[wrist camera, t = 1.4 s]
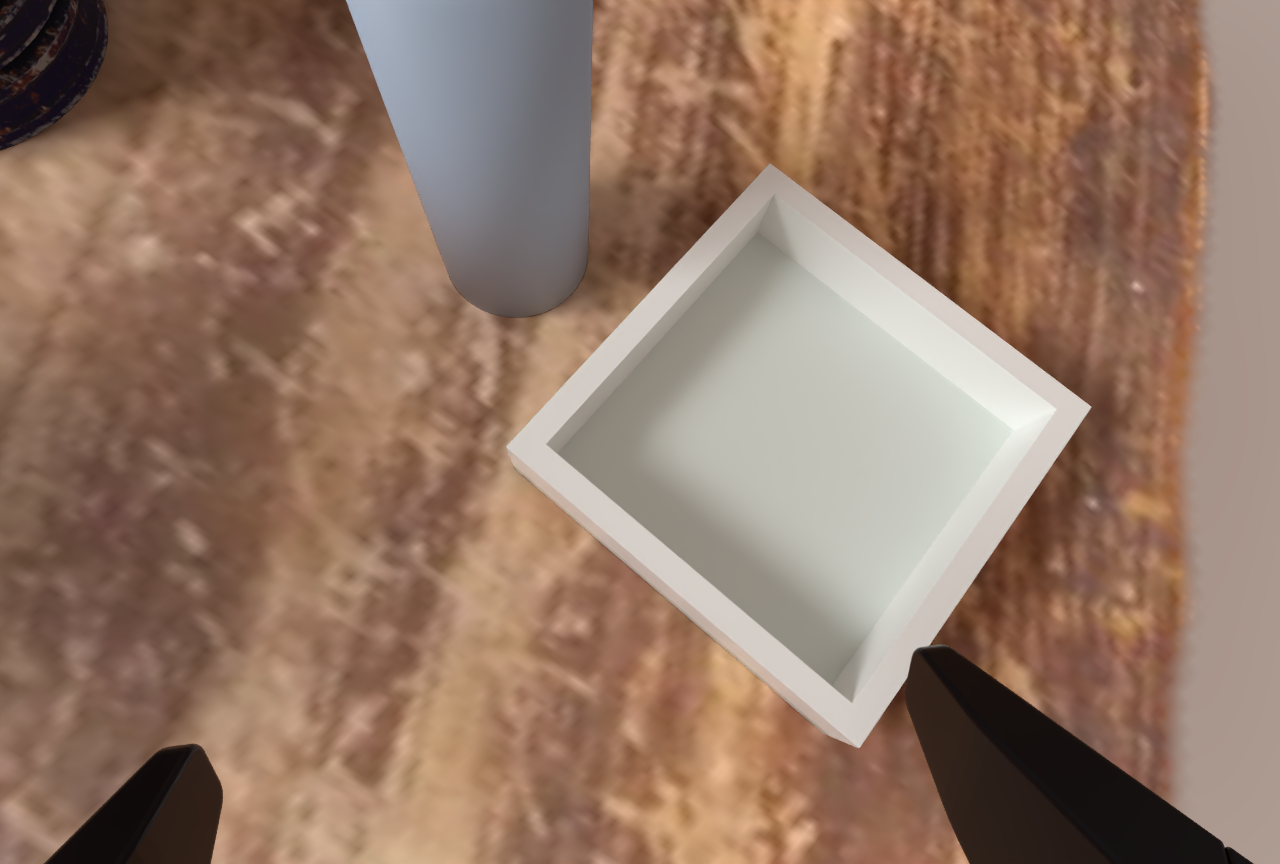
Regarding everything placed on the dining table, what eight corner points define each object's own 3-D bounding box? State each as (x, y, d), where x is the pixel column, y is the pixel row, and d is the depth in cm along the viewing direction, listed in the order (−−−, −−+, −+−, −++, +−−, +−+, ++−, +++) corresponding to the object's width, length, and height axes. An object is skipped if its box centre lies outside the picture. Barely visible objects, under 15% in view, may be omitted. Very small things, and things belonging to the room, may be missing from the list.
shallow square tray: (1034, 432, 26) (1091, 406, 23) (823, 733, 23) (858, 748, 20) (749, 212, 27) (770, 163, 24) (514, 469, 24) (506, 446, 21)
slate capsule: (617, 247, 26) (650, -99, 14) (521, 345, 25) (462, 63, 13) (512, 163, 27) (452, -243, 14) (413, 255, 26) (254, -100, 13)
